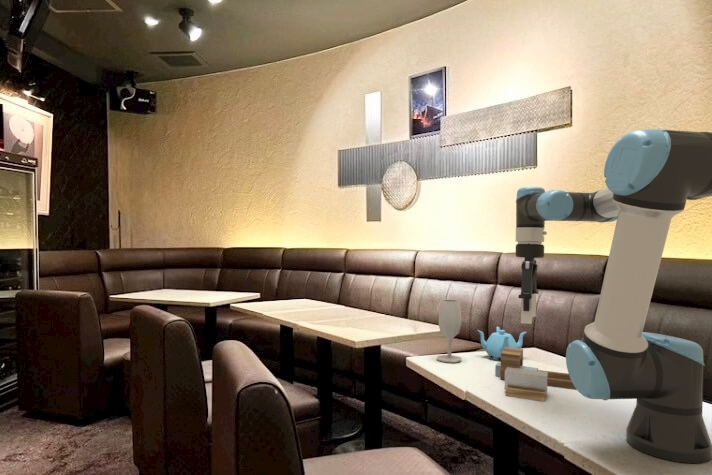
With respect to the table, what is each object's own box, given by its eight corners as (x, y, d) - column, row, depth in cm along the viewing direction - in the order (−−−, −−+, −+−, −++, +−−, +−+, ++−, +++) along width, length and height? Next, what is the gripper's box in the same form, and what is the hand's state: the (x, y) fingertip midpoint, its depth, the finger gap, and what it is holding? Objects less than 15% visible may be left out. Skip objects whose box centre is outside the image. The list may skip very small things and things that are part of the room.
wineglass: (465, 359, 173) (466, 300, 173) (456, 364, 166) (457, 302, 166) (442, 356, 178) (443, 298, 178) (432, 360, 171) (433, 300, 171)
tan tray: (544, 401, 130) (545, 393, 130) (505, 395, 134) (505, 388, 134) (546, 390, 139) (547, 383, 139) (510, 385, 143) (510, 378, 143)
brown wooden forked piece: (589, 391, 139) (590, 363, 139) (500, 379, 149) (500, 353, 149) (588, 382, 149) (589, 355, 148) (504, 371, 159) (505, 346, 159)
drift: (537, 380, 150) (538, 368, 150) (535, 383, 147) (536, 371, 147) (498, 374, 156) (498, 362, 156) (495, 377, 153) (495, 365, 153)
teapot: (497, 352, 186) (497, 325, 186) (528, 359, 175) (529, 331, 175) (475, 357, 178) (476, 329, 178) (507, 365, 167) (507, 335, 167)
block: (547, 389, 137) (547, 371, 137) (546, 395, 132) (547, 376, 132) (506, 384, 141) (506, 367, 141) (504, 389, 137) (504, 371, 137)
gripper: (541, 243, 124) (539, 327, 124) (546, 243, 147) (545, 314, 146) (510, 242, 127) (508, 325, 127) (520, 243, 150) (519, 313, 149)
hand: (528, 319), depth 137 cm, fingers open, 13 cm apart
